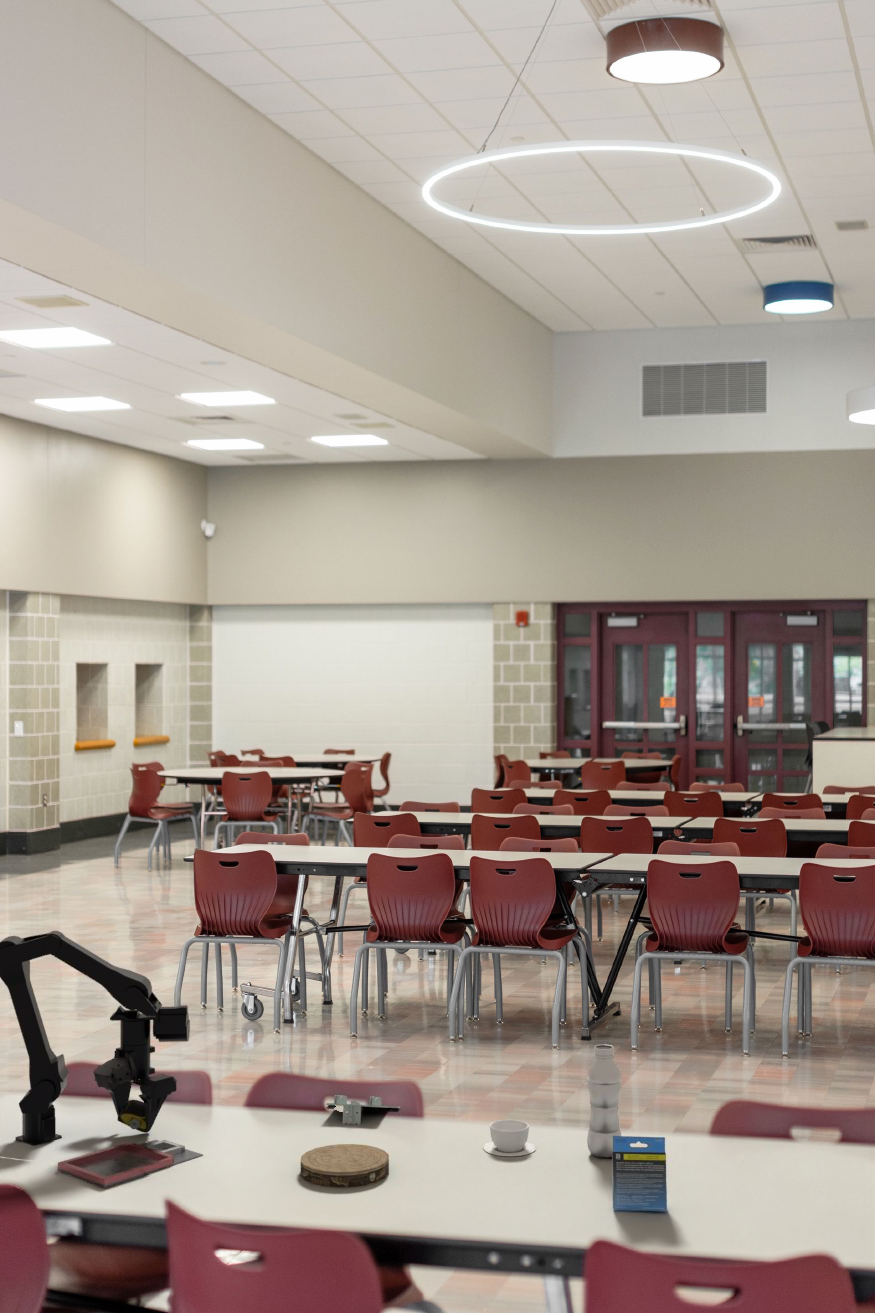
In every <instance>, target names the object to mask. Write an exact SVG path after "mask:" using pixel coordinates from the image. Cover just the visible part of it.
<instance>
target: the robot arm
mask: <svg viewBox="0 0 875 1313" xmlns="http://www.w3.org/2000/svg"><path fill="white" fill-rule="evenodd" d="M49 955H51V956H53V957H55V958H56V959H58V960H60V961H61V962H63V963H64V964H66V965H68V966H69V967H71V968H73V969H74V970H76V971H78V972H79V973H81V974H83V975H84V976H86V977H87V978H89V979H91V980H93V981H94V982H96V983H97V984H100V985H101V986H102V988H104V989H105V990H106V991H107V992H108V994H109V995H110V996H111V997H112V998H113V999H114V1000H115V1001H116V1002H118V1003H119V1004H120V1005H119V1006H118V1007H117V1009H116V1010H115V1011H114V1012H113V1013H112V1014H111V1015H110V1017H109V1020H110V1021H112V1022H114V1021H119V1022H120V1023H119V1024H120V1027H119V1028H120V1035H119V1036H120V1040H119V1041H120V1043H119V1046H120V1047H117V1048H115V1050H114V1056H113V1057H112V1058H111V1059H109V1060H107V1061H106V1062H103V1064H101V1065H98V1066H97V1068H95V1069H94V1070H93V1072H92V1073H93V1075H94V1082H96V1085H97V1087H98V1088H104V1089H105V1090H106V1091H108V1092H109V1094H110V1097H111V1100H112V1103H113V1106H114V1108H115V1112H116V1116H117V1117H118V1116H119V1114H120V1112H121V1110H122V1107H123V1105H124V1104H125V1103H126V1102H127V1101H129V1100H130V1095H131V1090H132V1085H133V1084H135V1085H137V1086H139V1090H140V1094H138V1097H139V1098H140V1099H141V1101H142V1102H144V1110H145V1123H146V1128H151V1127H153V1125H154V1124H155V1121H156V1119H157V1117H158V1115H159V1113H160V1110H161V1109H162V1106H164V1103H165V1101H166V1100H167V1097H168V1096H170V1095H171V1094H172V1093H175V1092H177V1091H178V1088H177V1087H178V1082H177V1079H176V1077H174V1076H172V1075H168V1074H164V1073H160V1074H156V1068H155V1067H151V1054H152V1053H155V1052H156V1047H155V1046H153V1045H151V1021H152V1036H153V1038H155V1040H158V1043H174V1042H175V1043H176V1042H178V1043H179V1042H181V1043H182V1042H183V1043H184V1042H186V1043H187V1042H189V1040H190V1029H191V1028H190V1027H191V1020H190V1019H189V1018H190V1017H189V1016H190V1015H189V1006H188V1005H185V1004H183V1005H176V1006H163V1004H162V1003H161V1001H160V999H158V997H157V996H156V994H155V993H154V992H153V985H152V983H151V980H150V979H149V978H148V977H146V976H145V975H143V974H140V973H138V972H136V971H133V970H130V969H126V968H123V967H119V966H116V965H113V964H112V963H110V962H109V961H107V960H105V959H103V958H102V957H100V956H98V955H96V953H94V952H92V951H90V950H89V949H87V948H86V947H83V946H82V945H80V944H79V943H77V942H75V941H74V940H72V939H70V938H69V937H67V936H66V935H65V934H64V933H63V932H61V931H59V930H52V931H50V932H47V933H41V934H36V935H30V936H26V937H20V936H17V935H10V936H7V937H5V938H3V939H1V941H0V979H1V981H2V982H3V984H5V986H6V988H7V990H8V992H9V995H10V999H11V1003H12V1006H13V1008H14V1012H15V1015H16V1019H17V1022H18V1024H19V1029H20V1032H21V1035H22V1039H23V1042H24V1046H25V1049H26V1053H27V1055H28V1060H29V1061H28V1068H29V1069H28V1075H29V1076H28V1078H29V1085H30V1089H29V1090H28V1091H27V1092H26V1093H25V1095H24V1096H23V1097H22V1098H21V1099H20V1101H19V1102H18V1106H19V1109H20V1112H21V1114H22V1116H21V1117H22V1118H21V1119H22V1123H21V1124H22V1126H21V1127H22V1132H21V1133H22V1134H21V1135H19V1136H15V1141H19V1142H20V1143H21V1142H22V1143H24V1144H27V1145H30V1146H33V1147H34V1146H35V1147H36V1146H39V1145H42V1144H46V1143H49V1142H52V1141H57V1140H59V1139H62V1138H63V1135H61V1134H57V1133H56V1129H57V1126H56V1124H57V1123H56V1120H57V1119H56V1107H55V1104H53V1103H54V1102H55V1101H56V1100H57V1099H58V1098H60V1096H61V1094H62V1093H63V1091H64V1090H65V1088H66V1086H67V1084H68V1076H69V1075H70V1074H71V1072H70V1071H69V1070H68V1068H67V1066H66V1061H65V1054H63V1053H61V1054H59V1055H58V1056H57V1055H56V1054H55V1052H54V1050H52V1048H51V1046H50V1041H49V1039H48V1035H47V1031H46V1029H45V1025H44V1021H43V1018H42V1016H41V1015H42V1014H41V1012H40V1009H39V1006H38V1002H37V999H36V996H35V992H34V989H33V985H32V981H31V960H35V959H38V958H42V957H45V956H49ZM151 1129H152V1128H151Z"/></svg>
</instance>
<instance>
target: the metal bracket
mask: <svg viewBox="0 0 875 1313" xmlns="http://www.w3.org/2000/svg"><path fill="white" fill-rule="evenodd" d="M347 1102H348V1096H347V1095H343V1094H340V1095H339V1094H337V1095H336V1094H335V1095H334V1097H333V1102H331V1103H330V1102H329V1103H328V1102H326V1103H325V1105H327V1106H339V1107H342V1106H343V1108H342V1109H343V1110H342V1125H343V1124H346V1125H347V1124H348V1125H361V1120H362V1119H361V1118H362V1107H363V1108H364V1107H366V1108H367V1107H368V1108H382V1109H383V1108H385V1109H387V1108H388V1109H390V1108H391V1109H401V1106H399V1105H397V1106H396V1105H382V1096H370V1097H369V1104H360V1102H359V1101H356V1100H354V1099H351V1100H350V1103H347Z"/></svg>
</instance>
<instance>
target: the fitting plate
mask: <svg viewBox="0 0 875 1313" xmlns="http://www.w3.org/2000/svg"><path fill="white" fill-rule="evenodd" d="M203 1156H204V1154H202V1153H200V1152H196V1151H193V1150H190V1149H187V1148H186V1146H185V1145H183V1144H180V1143H178V1142H173V1141H169V1140H166V1139H162V1140H158V1139H153V1140H149V1141H147V1142H144V1143H139V1144H138V1143H135V1142H131V1143H127V1142H124V1143H121V1144H118V1145H115V1146H110V1147H108V1148H104V1149H100V1150H97V1151H93V1152H90V1153H86V1154H84V1155H80V1156H76V1157H74V1158H73V1157H72V1158H69V1159H67V1160H62V1161H59V1162H58V1161H57V1172H59V1173H62V1174H64V1175H66V1174H67V1176H69V1175H70V1177H72V1178H74V1179H77V1180H80V1181H82V1180H83V1181H82V1182H85V1181H86V1183H89V1184H90V1185H94V1186H96V1187H99V1188H102V1189H104V1190H105V1189H108V1188H110V1187H111V1188H112V1187H114V1186H117V1185H118V1186H119V1185H121V1184H124V1183H127V1182H131V1181H133V1180H137V1179H139V1178H143V1177H146V1176H149V1175H150V1174H151V1173H154V1172H157V1171H160V1170H164V1169H166V1168H169V1167H172V1166H176V1165H179V1164H181V1163H185V1162H188V1161H191V1160H193V1159H194V1160H195V1159H197V1158H200V1157H203Z"/></svg>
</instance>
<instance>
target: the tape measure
mask: <svg viewBox="0 0 875 1313" xmlns="http://www.w3.org/2000/svg"><path fill="white" fill-rule="evenodd" d="M117 1122H120V1123H121V1124H124V1125H125V1126H128V1127H129V1128H130V1129H132V1130H136V1131H139V1132H141V1133H144V1134H145V1133H146V1134H147V1133H149V1132H151V1130H152V1127H153V1126H152V1127H151V1128H146V1123H145V1110H144V1101H143V1100H138V1099H129V1101H127V1102H126V1103H125V1104H124V1105H123V1107H122V1110H121V1112H120V1114H119V1116H118V1115H117Z"/></svg>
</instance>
